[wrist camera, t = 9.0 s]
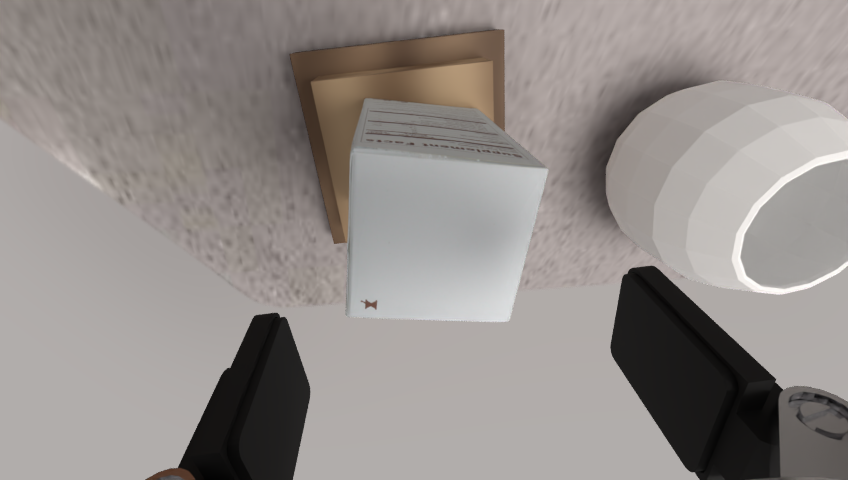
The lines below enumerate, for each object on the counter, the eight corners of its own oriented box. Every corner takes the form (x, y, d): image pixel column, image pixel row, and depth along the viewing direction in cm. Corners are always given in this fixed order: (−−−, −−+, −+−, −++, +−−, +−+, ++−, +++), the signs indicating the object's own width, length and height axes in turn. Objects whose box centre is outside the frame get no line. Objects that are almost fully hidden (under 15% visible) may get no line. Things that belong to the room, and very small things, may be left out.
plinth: (496, 29, 28) (517, 30, 23) (498, 212, 35) (515, 239, 30) (295, 52, 27) (278, 57, 23) (336, 232, 34) (329, 263, 30)
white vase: (601, 76, 30) (743, 108, 18) (767, 70, 31) (1005, 98, 19) (574, 233, 36) (665, 333, 24) (712, 224, 37) (866, 317, 25)
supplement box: (462, 212, 29) (510, 329, 18) (357, 204, 28) (339, 322, 17) (481, 105, 25) (557, 167, 14) (363, 92, 24) (345, 147, 13)
